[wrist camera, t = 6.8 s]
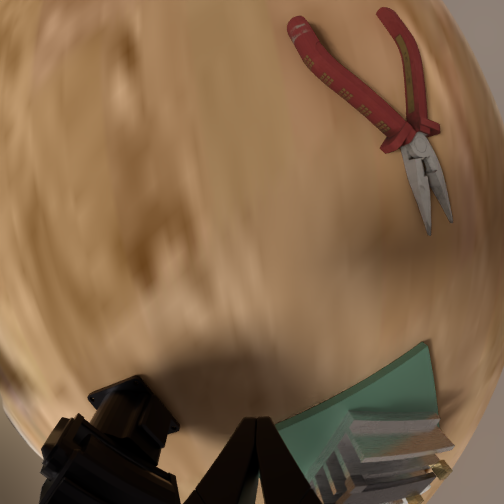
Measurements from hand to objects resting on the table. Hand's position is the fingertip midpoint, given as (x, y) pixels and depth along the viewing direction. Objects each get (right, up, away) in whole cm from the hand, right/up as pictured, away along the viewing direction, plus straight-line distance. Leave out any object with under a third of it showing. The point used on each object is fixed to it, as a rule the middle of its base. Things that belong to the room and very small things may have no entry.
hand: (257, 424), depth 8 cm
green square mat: (+11, -16, +16) cm, 25 cm away
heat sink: (+12, -16, +15) cm, 25 cm away
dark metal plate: (+13, -17, +9) cm, 23 cm away
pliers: (+9, +17, +11) cm, 23 cm away
